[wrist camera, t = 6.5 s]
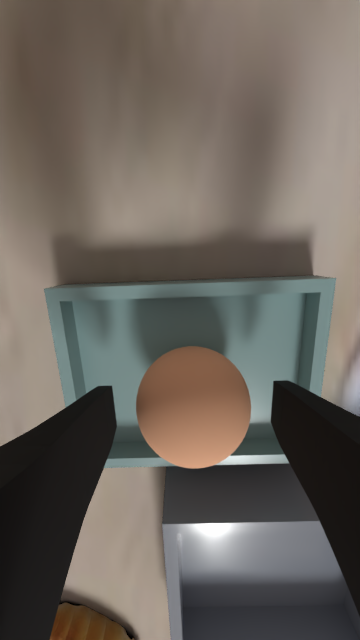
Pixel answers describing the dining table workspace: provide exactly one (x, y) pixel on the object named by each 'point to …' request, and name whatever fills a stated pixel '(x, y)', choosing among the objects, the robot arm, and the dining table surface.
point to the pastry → (84, 625)
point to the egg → (193, 407)
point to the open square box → (250, 558)
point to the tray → (191, 330)
